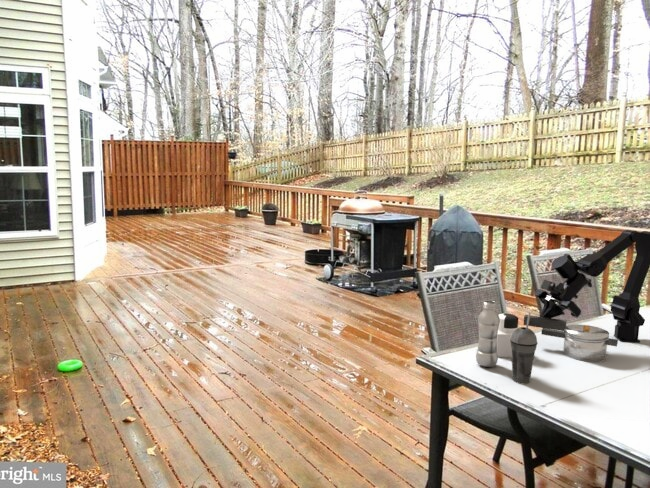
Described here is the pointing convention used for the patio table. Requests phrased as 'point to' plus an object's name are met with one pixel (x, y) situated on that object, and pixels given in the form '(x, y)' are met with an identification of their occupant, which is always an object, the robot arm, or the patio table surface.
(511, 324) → the container
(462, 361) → the patio table surface
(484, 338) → the plastic bottle
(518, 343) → the beverage cup
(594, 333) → the cooker lid
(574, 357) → the cooker pot
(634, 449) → the patio table surface
